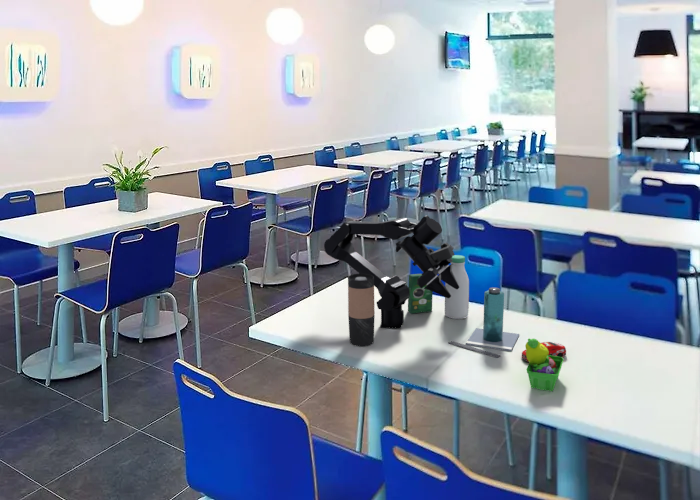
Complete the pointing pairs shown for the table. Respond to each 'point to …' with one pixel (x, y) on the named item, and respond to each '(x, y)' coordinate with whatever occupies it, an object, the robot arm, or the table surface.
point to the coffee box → (418, 296)
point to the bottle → (493, 315)
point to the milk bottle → (458, 291)
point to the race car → (550, 350)
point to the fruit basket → (542, 366)
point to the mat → (505, 344)
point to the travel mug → (361, 309)
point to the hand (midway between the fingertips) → (454, 292)
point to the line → (474, 349)
